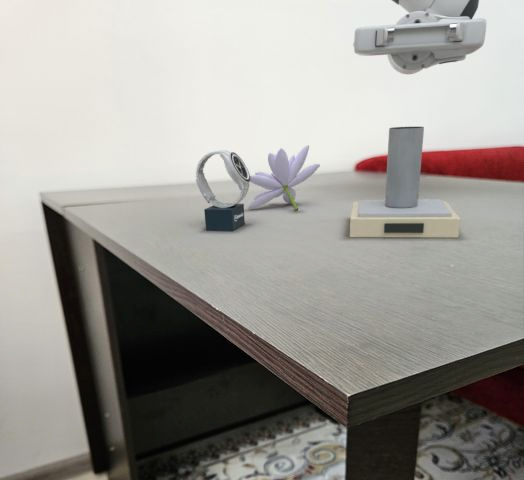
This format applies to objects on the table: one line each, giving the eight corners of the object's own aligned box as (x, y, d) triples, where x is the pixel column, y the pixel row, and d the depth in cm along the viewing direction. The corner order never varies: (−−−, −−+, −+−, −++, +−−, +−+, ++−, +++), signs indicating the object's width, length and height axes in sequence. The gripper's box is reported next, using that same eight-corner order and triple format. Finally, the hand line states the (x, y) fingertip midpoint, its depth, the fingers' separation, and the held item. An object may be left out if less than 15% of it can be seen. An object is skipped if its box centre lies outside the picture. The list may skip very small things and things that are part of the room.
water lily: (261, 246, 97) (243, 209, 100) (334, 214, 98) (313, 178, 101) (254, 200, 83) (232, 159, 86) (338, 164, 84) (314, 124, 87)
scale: (444, 218, 80) (446, 198, 79) (458, 238, 68) (461, 214, 66) (352, 218, 83) (353, 198, 82) (349, 237, 70) (350, 215, 69)
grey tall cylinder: (415, 208, 72) (422, 127, 68) (382, 208, 73) (386, 128, 69) (419, 203, 76) (425, 126, 71) (387, 202, 77) (391, 127, 73)
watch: (245, 231, 77) (241, 151, 72) (195, 230, 79) (188, 152, 74) (256, 224, 82) (253, 149, 77) (209, 223, 84) (203, 150, 79)
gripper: (354, 25, 91) (351, 12, 79) (478, 16, 87) (496, 1, 75) (353, 66, 94) (350, 60, 81) (473, 59, 90) (489, 52, 77)
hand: (421, 32), depth 78 cm, fingers open, 8 cm apart
